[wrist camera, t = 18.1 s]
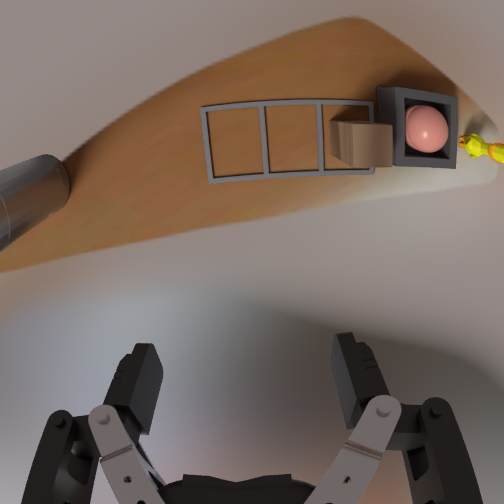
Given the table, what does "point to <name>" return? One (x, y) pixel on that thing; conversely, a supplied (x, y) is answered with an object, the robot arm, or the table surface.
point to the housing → (393, 114)
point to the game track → (264, 142)
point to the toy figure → (482, 148)
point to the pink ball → (425, 128)
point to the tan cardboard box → (361, 143)
